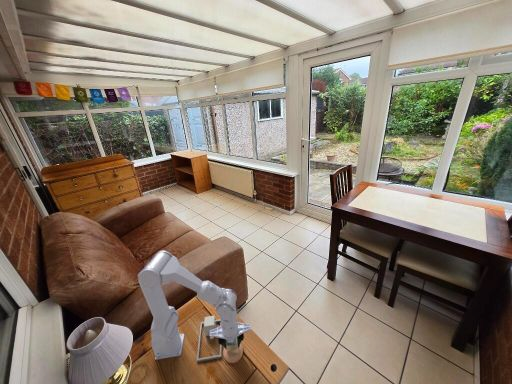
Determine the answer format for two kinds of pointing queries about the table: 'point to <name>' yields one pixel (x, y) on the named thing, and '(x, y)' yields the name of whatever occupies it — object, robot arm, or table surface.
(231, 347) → the tan and teal block
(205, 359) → the open rectangular frame
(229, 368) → the table surface
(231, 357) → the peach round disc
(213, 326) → the grey block
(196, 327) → the table surface
